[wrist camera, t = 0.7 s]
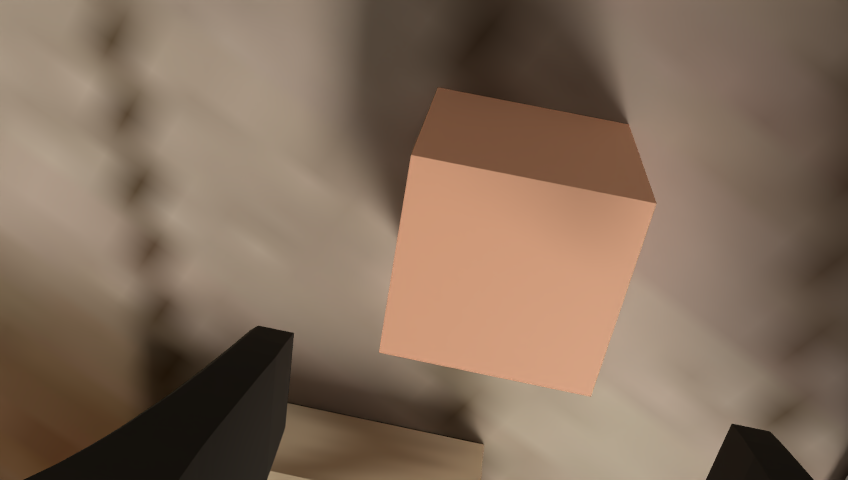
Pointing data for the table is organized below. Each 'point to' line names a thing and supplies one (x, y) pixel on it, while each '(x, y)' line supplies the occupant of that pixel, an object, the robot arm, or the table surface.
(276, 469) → the base
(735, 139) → the table surface
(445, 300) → the cube
